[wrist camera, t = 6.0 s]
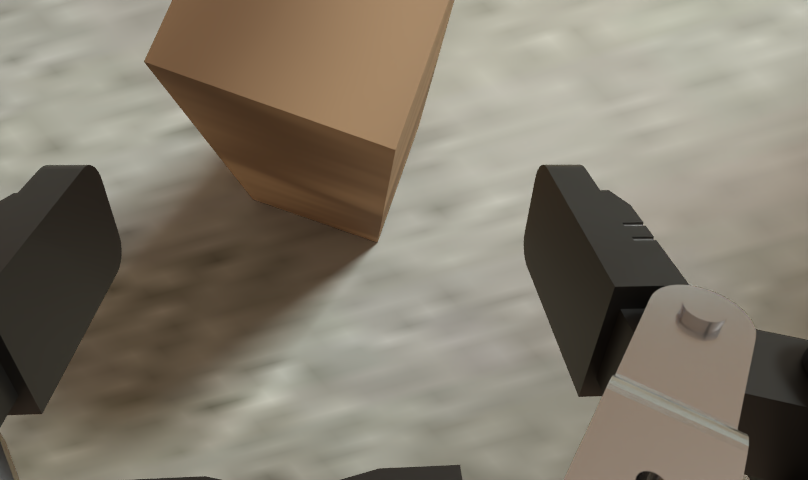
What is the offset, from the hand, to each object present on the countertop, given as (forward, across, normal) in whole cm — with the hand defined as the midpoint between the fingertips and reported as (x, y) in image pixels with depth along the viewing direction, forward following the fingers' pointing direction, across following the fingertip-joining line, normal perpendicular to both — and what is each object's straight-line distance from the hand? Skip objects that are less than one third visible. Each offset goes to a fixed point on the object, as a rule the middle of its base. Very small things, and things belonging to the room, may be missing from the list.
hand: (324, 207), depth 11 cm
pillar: (+9, 0, +4) cm, 9 cm away
